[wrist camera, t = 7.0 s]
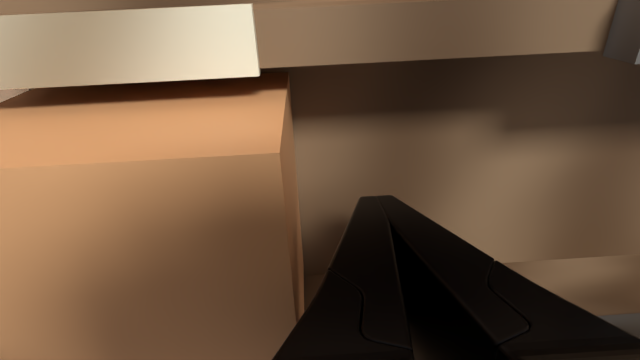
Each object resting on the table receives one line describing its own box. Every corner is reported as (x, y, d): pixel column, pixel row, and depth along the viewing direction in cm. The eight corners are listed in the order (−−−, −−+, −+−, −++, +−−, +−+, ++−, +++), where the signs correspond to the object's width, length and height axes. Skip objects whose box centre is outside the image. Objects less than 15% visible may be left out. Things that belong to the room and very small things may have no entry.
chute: (813, -44, 10) (1129, -57, 6) (667, 263, 15) (798, 364, 11) (20, -7, 10) (-164, 3, 6) (129, 298, 14) (67, 416, 10)
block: (288, 71, 10) (279, 153, 5) (303, 263, 12) (305, 421, 8) (42, 85, 10) (-182, 179, 5) (112, 275, 12) (7, 443, 8)
